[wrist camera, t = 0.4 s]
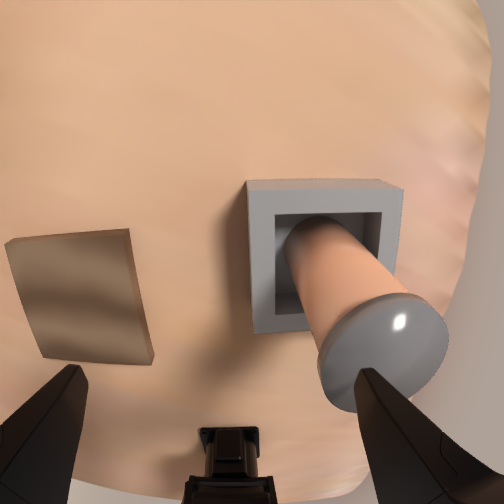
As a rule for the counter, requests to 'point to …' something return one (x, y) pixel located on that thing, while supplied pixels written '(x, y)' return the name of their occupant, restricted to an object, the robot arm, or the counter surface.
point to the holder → (296, 210)
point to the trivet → (82, 296)
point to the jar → (360, 313)
